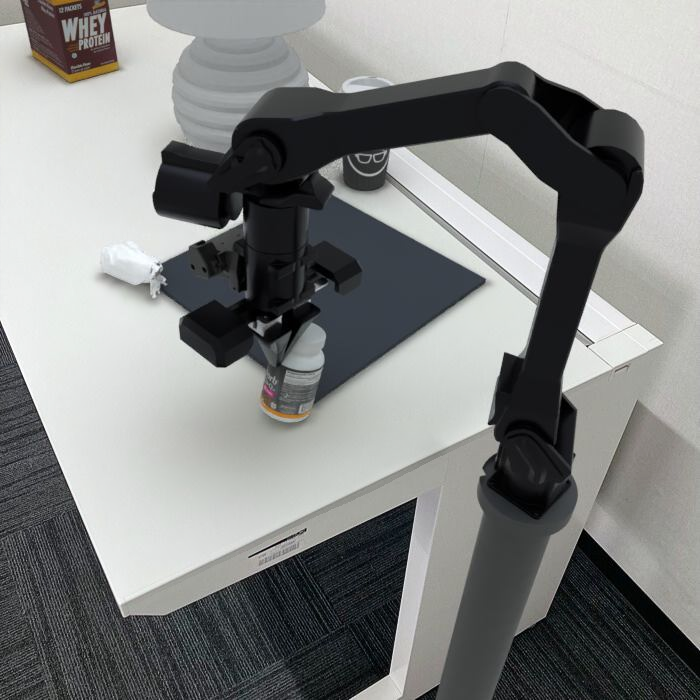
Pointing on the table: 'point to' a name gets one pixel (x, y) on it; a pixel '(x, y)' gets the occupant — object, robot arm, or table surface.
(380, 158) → the coffee cup
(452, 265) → the mat
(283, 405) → the pill bottle
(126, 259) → the white pouch
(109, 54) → the supplement box
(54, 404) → the table surface
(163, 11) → the table lamp
